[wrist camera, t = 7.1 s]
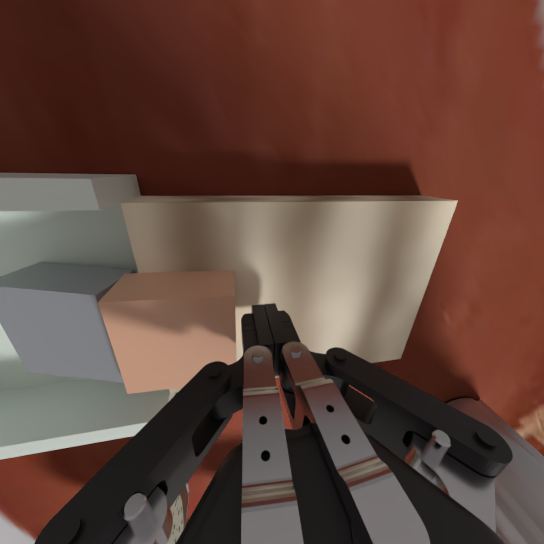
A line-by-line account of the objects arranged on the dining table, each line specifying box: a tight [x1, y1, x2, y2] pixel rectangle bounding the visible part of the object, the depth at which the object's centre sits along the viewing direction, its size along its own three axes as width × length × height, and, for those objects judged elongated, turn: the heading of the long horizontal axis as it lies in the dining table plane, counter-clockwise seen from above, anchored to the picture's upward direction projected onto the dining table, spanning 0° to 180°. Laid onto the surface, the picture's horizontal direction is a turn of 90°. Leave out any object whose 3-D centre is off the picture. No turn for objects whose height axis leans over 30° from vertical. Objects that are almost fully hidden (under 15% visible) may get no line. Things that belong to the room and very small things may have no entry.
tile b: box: [0, 262, 136, 383], centre depth 13 cm, size 6×6×3 cm
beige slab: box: [120, 195, 458, 393], centre depth 17 cm, size 20×14×3 cm
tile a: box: [98, 270, 236, 394], centre depth 13 cm, size 6×6×3 cm
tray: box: [0, 173, 175, 460], centre depth 13 cm, size 16×16×5 cm
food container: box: [167, 483, 189, 544], centre depth 22 cm, size 12×6×10 cm, turn 177°
